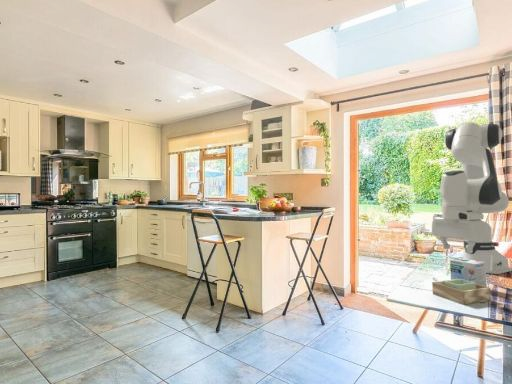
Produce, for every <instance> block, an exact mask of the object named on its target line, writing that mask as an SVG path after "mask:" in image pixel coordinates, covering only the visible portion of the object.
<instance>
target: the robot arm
mask: <svg viewBox="0 0 512 384" xmlns="http://www.w3.org/2000/svg"><path fill="white" fill-rule="evenodd" d="M502 138H503V131H502V129H501V127H500V126H499V125H498V124H496V123H488V124H477V123H475V122H463V123H462V124H461V125H459V126H458V127H456V128H455V127H454V128H451V129H449V130H448V131H447V132H446V133H445V135H444V144H445V147H446V148H447V149H448V150H450V151H451V155H452V157H453V158H454V159H455V160H456V161H458V163H459V162H460V163H461V170H450V171H445V172H443V173H442V175H441V179H440V180H441V181H440V196H441V197H440V198H441V200H442V202H441V212H436V213H435V214H433V216H432V223H431V234H432V235H433V237H439V240H440V242H441V244H442V246H443V247H442V248H443V249H445V250H449V249H451V244H449V243H448V239H455V240H460V241H461V240H463V248H464V250H463V254H462V255H463V256H462V258H463V259H469V260H475V261H481V262H485V264H486V274H494V275H500V274H504V273H508V272H509V273H510V272H512V266H509V263H508V259H507V256H505V255H504V254H502V253H501V252H499V251H498V250H497V249H496V247H499V246H500V243H499V242H497V241H496V242H495V241H493V239H492V238H493V236H492V227H491V225H490V224H489V223H488V222H486V221H484V220H483V219H485V217H484V214H495V213H499V212H504V211H505V210H506V209H507V208H508V206H509V204H510V200H509V197H508V195H507V194H506V193H505V192H504V191H502V186H501V184H500V182H499V180H498V176H497V169H496V166H495V161H494V159H493V154H492V152H491V150H492V149H493V148H494V147H496V146H498V145H499V144H500V143H501V141H502Z"/></svg>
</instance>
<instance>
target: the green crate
mask: <svg viewBox="0 0 512 384" xmlns="http://www.w3.org/2000/svg"><path fill="white" fill-rule="evenodd" d="M448 280H449V281H446V280H443V281H444V285H445V286H448V287H451V288H454V289H458V290H461V291H467V290H474V289H476V283H475V282H471V281H467V280H463V279H456V280H451V279H448Z"/></svg>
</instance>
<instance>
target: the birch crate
mask: <svg viewBox="0 0 512 384" xmlns="http://www.w3.org/2000/svg"><path fill="white" fill-rule="evenodd" d="M449 280H450V279H448V280H438V281H432V284H431V285H432V295H435V296H438V297H441V298H443V299H446V300H449V301H452V302H455V303H458V304H460V305H471V304H478V303H483V302H490V301H492V297H491V295H492V294H491V287H488V286H487V287H485V286H481V285H478V284H476V289H474V290H467V291H461V290H458V289H454V288H451V287H448V286H445V285H444V281H449ZM454 280H456V279H454Z"/></svg>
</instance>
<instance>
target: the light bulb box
mask: <svg viewBox="0 0 512 384" xmlns="http://www.w3.org/2000/svg"><path fill="white" fill-rule="evenodd" d="M449 263H450V265H449V267H450V268H449V269H450V270H449V272H450V280H454V279H463V280H467V281H471V282H475V283H476V284H478V285H481V286H485V287H488V286H487V273H486V264H485V262H481V261H475V260H469V259H463V257H462V258H461V257H459V258H458V257H457V258H454V259H453V258H451V259H450V260H449Z"/></svg>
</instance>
